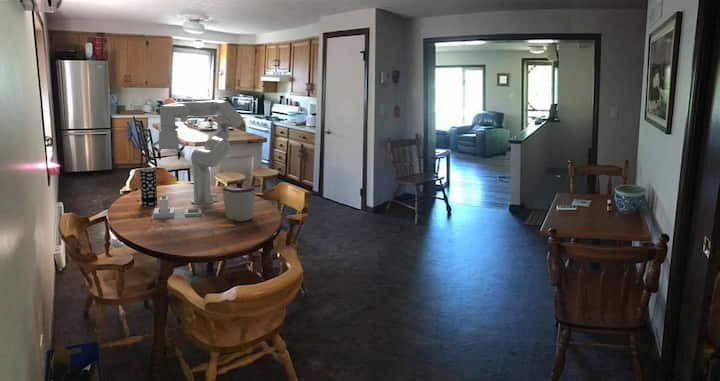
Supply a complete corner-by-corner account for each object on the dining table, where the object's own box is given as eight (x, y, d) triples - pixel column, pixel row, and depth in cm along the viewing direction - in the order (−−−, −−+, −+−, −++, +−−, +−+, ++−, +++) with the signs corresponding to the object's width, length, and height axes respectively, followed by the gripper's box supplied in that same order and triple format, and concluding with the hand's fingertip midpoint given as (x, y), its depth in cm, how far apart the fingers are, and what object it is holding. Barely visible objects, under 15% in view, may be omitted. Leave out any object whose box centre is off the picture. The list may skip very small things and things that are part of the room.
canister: (226, 225, 271) (225, 185, 266) (218, 216, 286) (217, 178, 282) (261, 222, 279) (261, 182, 274) (251, 213, 294) (251, 176, 290)
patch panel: (203, 212, 292) (203, 205, 291) (204, 219, 279) (204, 212, 278) (153, 214, 284) (153, 207, 284) (151, 221, 271) (151, 214, 270)
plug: (168, 213, 283) (168, 194, 280) (168, 216, 277) (167, 197, 275) (160, 213, 282) (160, 194, 279) (160, 216, 276) (159, 197, 274)
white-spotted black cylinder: (151, 207, 299) (150, 172, 294) (138, 205, 300) (136, 171, 296) (160, 203, 307) (158, 169, 302) (147, 202, 308) (145, 168, 304)
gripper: (185, 127, 292) (186, 158, 296) (151, 127, 287) (152, 158, 291) (184, 128, 285) (185, 160, 289) (150, 128, 280) (151, 160, 284)
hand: (169, 159), depth 290 cm, fingers open, 9 cm apart
